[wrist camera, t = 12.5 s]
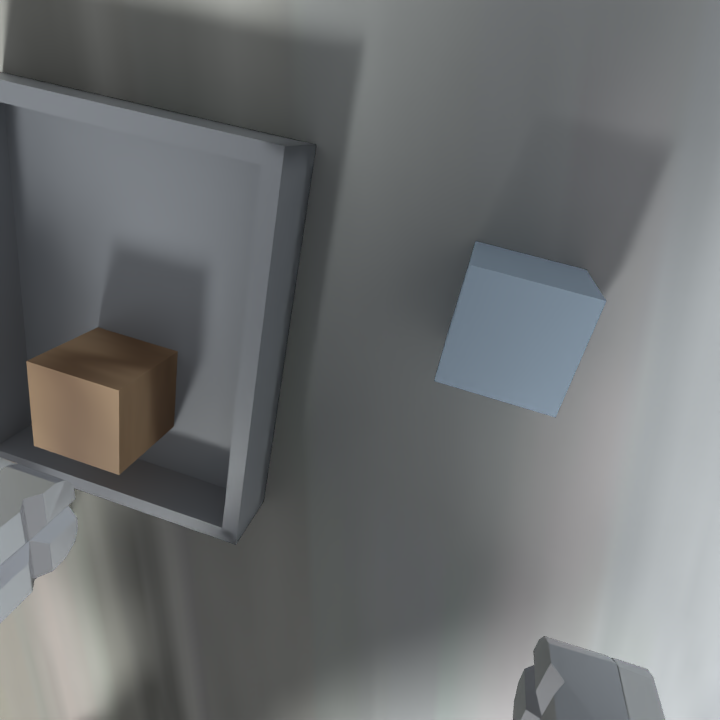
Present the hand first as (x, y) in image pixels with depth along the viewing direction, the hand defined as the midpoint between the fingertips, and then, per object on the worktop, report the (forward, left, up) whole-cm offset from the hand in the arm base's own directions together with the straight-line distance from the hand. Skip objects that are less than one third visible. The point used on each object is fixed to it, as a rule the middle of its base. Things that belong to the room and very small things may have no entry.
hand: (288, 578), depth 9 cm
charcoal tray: (-4, +13, -16) cm, 21 cm away
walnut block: (-8, +13, -15) cm, 22 cm away
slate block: (+1, -4, -16) cm, 16 cm away
